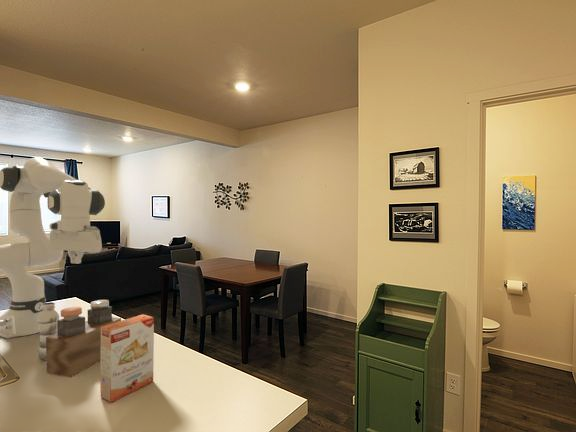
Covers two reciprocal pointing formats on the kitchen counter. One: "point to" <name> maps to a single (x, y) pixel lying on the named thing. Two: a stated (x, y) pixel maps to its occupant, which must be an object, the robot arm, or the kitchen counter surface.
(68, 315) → the orange ball
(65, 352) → the stand
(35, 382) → the kitchen counter surface
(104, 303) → the grey plunger
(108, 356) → the cracker box
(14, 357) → the kitchen counter surface
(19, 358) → the kitchen counter surface
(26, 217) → the robot arm
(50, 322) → the plastic bottle
